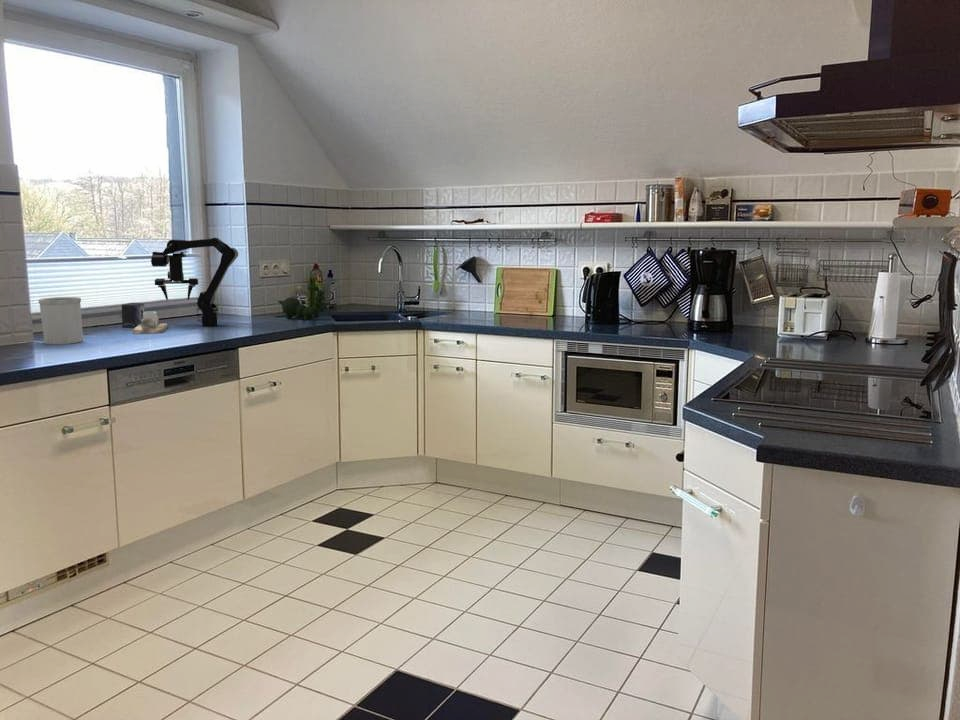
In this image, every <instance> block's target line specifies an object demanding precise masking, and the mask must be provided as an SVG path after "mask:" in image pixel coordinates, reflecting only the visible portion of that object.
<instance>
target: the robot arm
mask: <svg viewBox="0 0 960 720" xmlns="http://www.w3.org/2000/svg"><path fill="white" fill-rule="evenodd" d="M207 247H214V248H215V249H216V250H217V251H218V253H220V254H221V256H220V260H219V261H220V262H219V265H218V267H217V269H216V271H215V273H214V275H213V277H212V278H211V281H210V283H209V285H208V287H207V289H206V290H205V291H201V292H199V296H198V298H196V301H197V302H196V305H197V308H198V309H199V310H200V311H201V313H202V315H201V325H202V327H218V325H219V323H218V310H219V307H218V306H217V305H216V304H215V299H216V298H215V297H216V294H217V291H218V289H219V287H220V285H221V283H222V281H223V280H224V277H225V275H226V273H227V271H228V270H229V268H230V266H232V264H233V263H235V261H236V260H237V258H238V256H239V252H238V250H237V249H236V248H234V247H230V246H229V245H228V244H227V243H225V242H224V241H222V240H221V239H220V238H219V237H212V238H203V239H192V240H187V239H169V240H168V241H167V243H166V247H165V248H164V250H163V251H162V252H160V251H153V252H152V254H151V259H150V261H151V266H152V267H163V268H164V267H167V265H168V266H169V271H167V279H165V278H155V279H154V286H157V287H158V288H160V289H161V291H162V293H163V295H164V297H165V300H166V301H169V296H168V291H167V284H169V285H172V284H174V285H175V284H177V285H179V284H181V285H182V284H185V285H187V284H188V287H187V300H188V301H189V300H190V297H191V294H192V291H193V288H194V287H196V286H198V285H199V278H194V277H192V278H188V279H185V278H184V270H183V258H186V257H187V254H185V253H184V251H186V250H189V249H197V248H207ZM179 252H180V253H179Z"/></svg>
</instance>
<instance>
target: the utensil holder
mask: <svg viewBox="0 0 960 720" xmlns="http://www.w3.org/2000/svg"><path fill="white" fill-rule="evenodd" d="M81 298H82V297H79V296H78V297H77V296H54V297H53V296H51V297H42V298H39V299H38V304H39V311H40V317H41V327H42V328H41V329H42V334H43V340H44V341H43V342H44V343H45V344H46V345H47V344H48V345H68V344H76V343H80V342H83V341H84V337H83V336H84V335H83V320H82V318H83V317H82V307H81V302H82V299H81Z"/></svg>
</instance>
